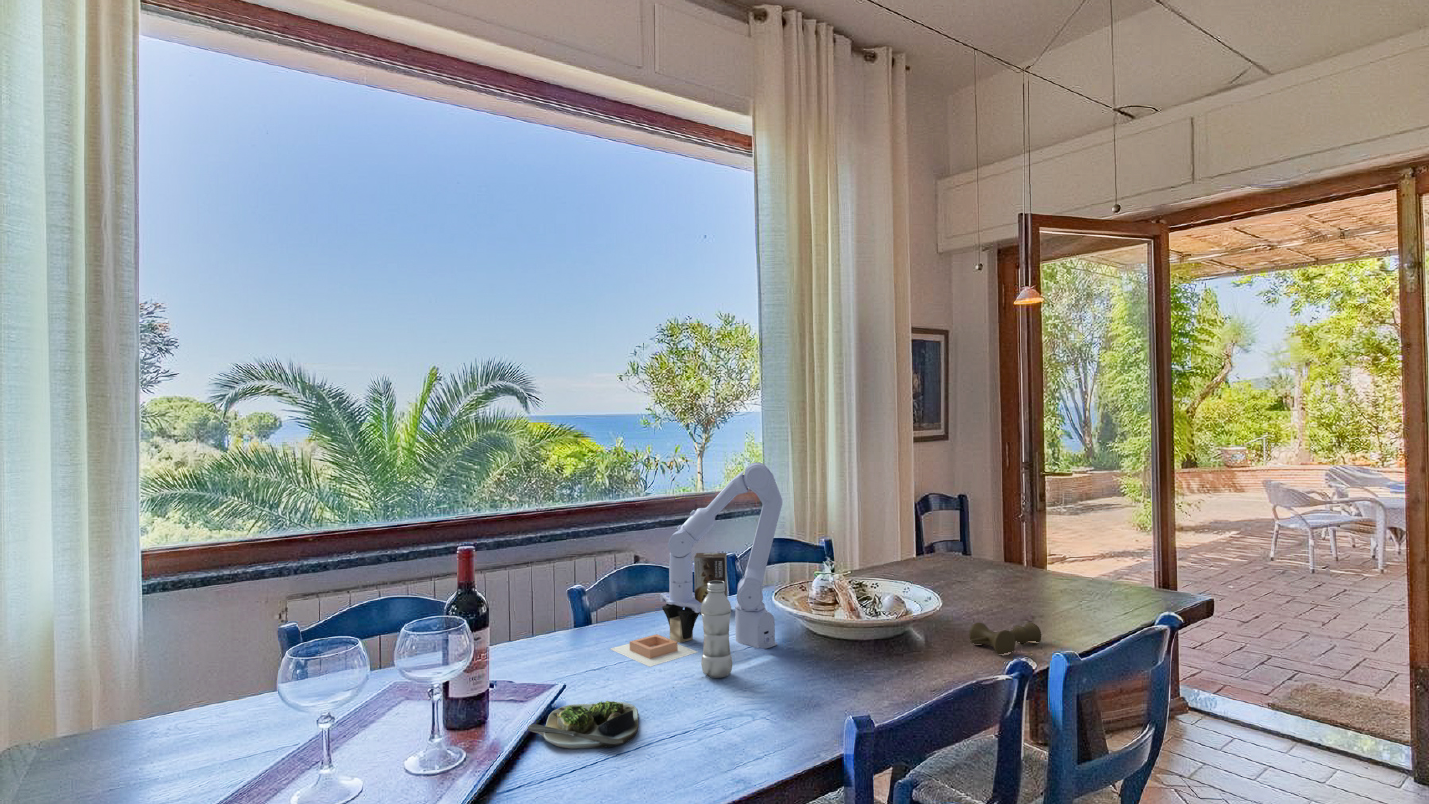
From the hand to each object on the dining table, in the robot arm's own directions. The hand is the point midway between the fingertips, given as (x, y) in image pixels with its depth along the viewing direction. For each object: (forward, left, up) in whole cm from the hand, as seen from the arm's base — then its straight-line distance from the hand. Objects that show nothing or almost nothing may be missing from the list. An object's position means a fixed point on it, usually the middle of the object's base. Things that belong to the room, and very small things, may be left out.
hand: (681, 635), depth 171 cm
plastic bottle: (-22, +8, -2) cm, 23 cm away
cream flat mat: (-2, +10, -2) cm, 10 cm away
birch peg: (0, 0, -2) cm, 2 cm away
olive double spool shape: (-55, -54, -2) cm, 77 cm away
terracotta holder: (-2, +10, -1) cm, 10 cm away
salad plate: (-26, +41, -2) cm, 49 cm away
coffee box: (+16, -24, -2) cm, 29 cm away
